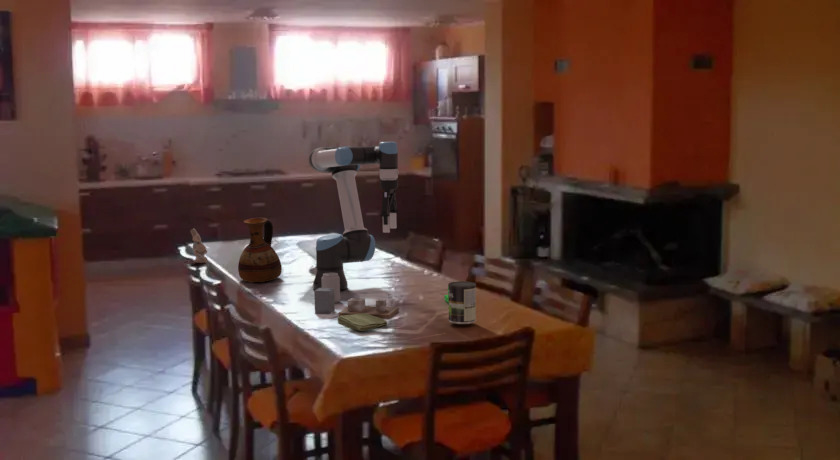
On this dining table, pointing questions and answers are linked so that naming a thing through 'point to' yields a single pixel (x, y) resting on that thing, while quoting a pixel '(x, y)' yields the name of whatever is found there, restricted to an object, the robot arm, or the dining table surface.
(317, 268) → the robot arm
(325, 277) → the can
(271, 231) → the ceramic pitcher
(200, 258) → the figurine
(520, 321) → the dining table surface
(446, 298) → the mechanical part
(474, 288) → the coffee can
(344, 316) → the washcloth
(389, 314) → the board
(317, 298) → the dark grey block
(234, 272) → the dining table surface
